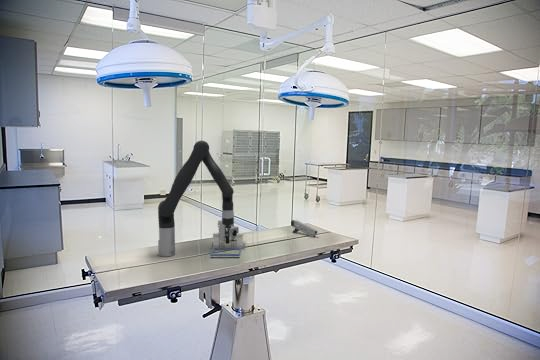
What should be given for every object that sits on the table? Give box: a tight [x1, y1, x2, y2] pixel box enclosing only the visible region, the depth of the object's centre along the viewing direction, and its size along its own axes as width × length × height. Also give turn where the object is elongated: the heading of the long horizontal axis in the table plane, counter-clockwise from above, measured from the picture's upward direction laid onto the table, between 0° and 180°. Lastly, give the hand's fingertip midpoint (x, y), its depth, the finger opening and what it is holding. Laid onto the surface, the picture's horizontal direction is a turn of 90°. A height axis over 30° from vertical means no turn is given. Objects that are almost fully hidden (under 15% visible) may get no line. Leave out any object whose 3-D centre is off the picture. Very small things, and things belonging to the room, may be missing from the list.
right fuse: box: [236, 232, 244, 248], centre depth 226 cm, size 4×4×9 cm
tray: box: [210, 248, 242, 259], centre depth 215 cm, size 17×13×2 cm
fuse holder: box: [209, 240, 246, 250], centre depth 226 cm, size 22×9×5 cm, turn 91°
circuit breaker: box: [217, 219, 240, 242], centre depth 242 cm, size 8×14×15 cm, turn 53°
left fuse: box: [212, 232, 220, 248], centre depth 226 cm, size 4×4×9 cm
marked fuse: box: [225, 233, 232, 248], centre depth 226 cm, size 4×4×9 cm
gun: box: [290, 219, 318, 238], centre depth 266 cm, size 2×25×10 cm, turn 45°
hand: (228, 241), depth 226 cm, fingers open, 7 cm apart
